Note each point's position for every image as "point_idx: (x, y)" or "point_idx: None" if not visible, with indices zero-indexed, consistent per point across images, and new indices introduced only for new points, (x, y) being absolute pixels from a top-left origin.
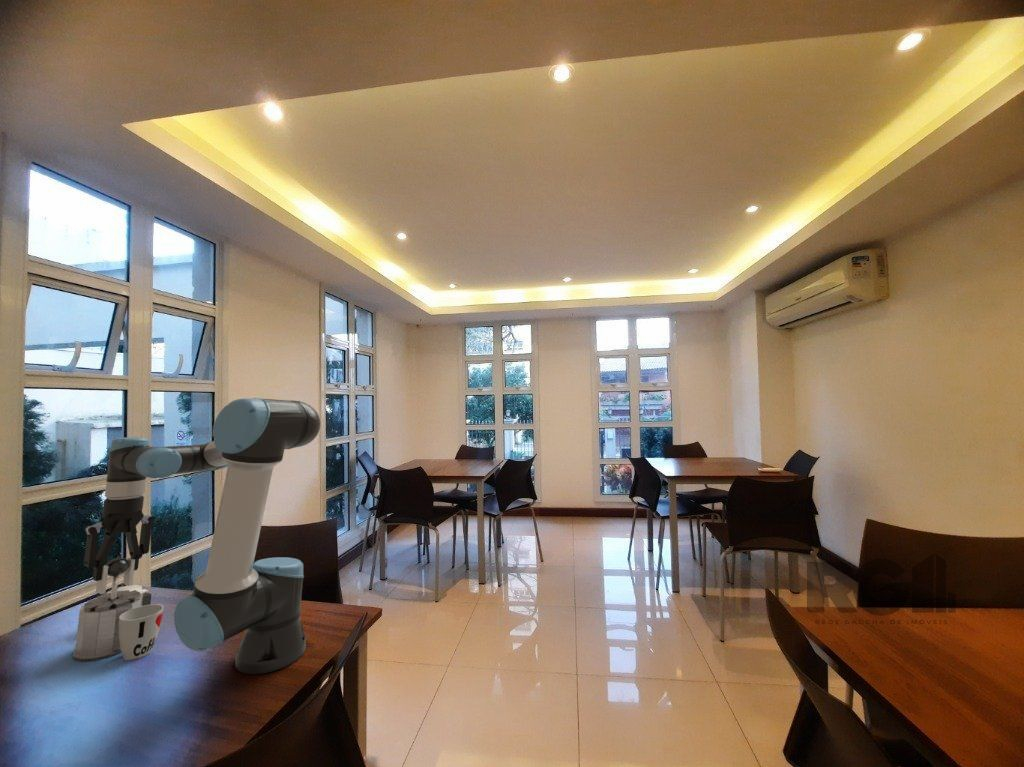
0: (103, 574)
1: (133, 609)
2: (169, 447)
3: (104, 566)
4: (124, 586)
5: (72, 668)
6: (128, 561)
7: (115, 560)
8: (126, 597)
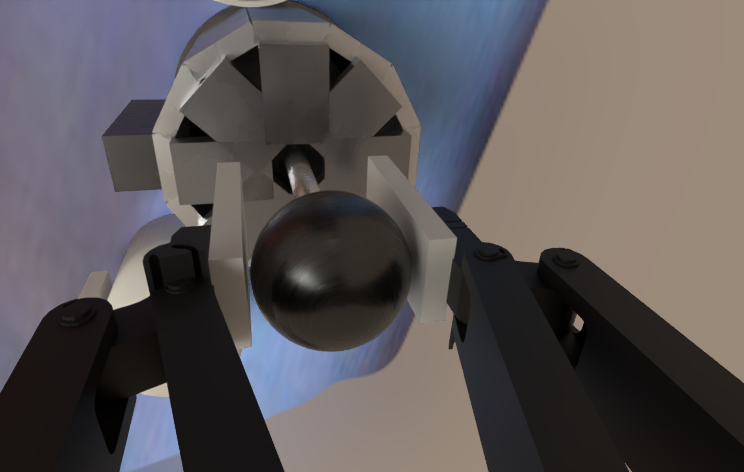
0: (431, 212)
1: (246, 2)
2: None
3: (443, 261)
4: (152, 393)
5: (396, 43)
6: (246, 293)
7: (375, 289)
8: (251, 122)
